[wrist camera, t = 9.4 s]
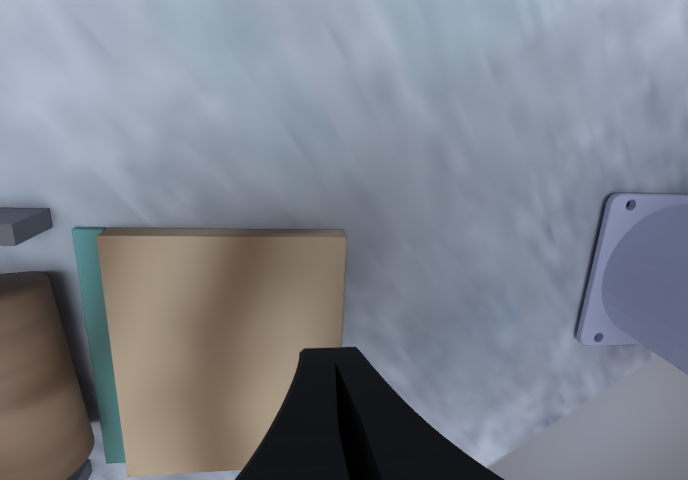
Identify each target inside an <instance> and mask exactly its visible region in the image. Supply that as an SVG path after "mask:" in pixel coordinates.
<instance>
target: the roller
mask: <svg viewBox="0 0 688 480" xmlns="http://www.w3.org/2000/svg"><path fill="white" fill-rule="evenodd" d="M93 446H94V435H93V432H92V428H91V425H90V421H89V418H88V414H87V411H86V407H85V404H84V400H83V396H82V393H81V389H80V386H79V382H78V379H77V375H76V372H75V368H74V365H73V361H72V357H71V354H70V350H69V347H68V343H67V340H66V336H65V333H64V329H63V326H62V322H61V318H60V315H59V311H58V308H57V304H56V301H55V297H54V294H53V290H52V287H51V283H50V279H49V277H48V275H46V274H44V273H40V272H19V273H7V274H0V480H66V479H67V478H69V477H70V476H71V475H72V474H73V473H75V472H76V471H77V470H78V469H79V468H80V467H81V466H82V465H83V463H84V462H85V461H86V460H87V458H88V457H89V455H90V454H91V451H92V449H93Z"/></svg>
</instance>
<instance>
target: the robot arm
mask: <svg viewBox="0 0 688 480" xmlns="http://www.w3.org/2000/svg"><path fill="white" fill-rule="evenodd" d="M629 200H630V204H629V206H628V207H627V208H626V204H627V202H628V201H629ZM596 334H598V335H597V336H596V337H595V335H596ZM594 337H595V338H594ZM577 340H578V341H579V342H580V343H582V344H583V345H585V346H599V345H634V344H643V345H644V346H646V347H647V348H649V349H650V350H652V351H653V352H655V353H656V354H658V355H659V356H661V357H662V358H664V359H665V360H667V361H668V362H670V363H671V364H673V365H674V366H676V367H677V368H679V369H680V370H682V371H683V372H684V373H686V374H688V194H645V193H615V194H613V195H611V196H610V198H609V199H608V201H607V203H606V207H605V212H604V216H603V221H602V225H601V229H600V234H599V238H598V243H597V247H596V251H595V256H594V260H593V265H592V269H591V274H590V278H589V282H588V287H587V291H586V296H585V300H584V304H583V309H582V313H581V318H580V322H579V327H578V331H577ZM235 480H504V479H502V478H501V477H499V476H498V475H496V474H495V473H493V472H492V471H490V470H489V469H487V468H486V467H484V466H483V465H481V464H480V463H478V462H477V461H475V460H474V459H473V458H471V457H470V456H468V455H467V454H466V453H464V452H463V451H462V450H461V449H459V448H458V447H457V446H455V445H454V444H453V443H451V442H450V441H449V440H448V439H446V438H445V437H444V436H442V435H441V434H440V433H439V432H438V431H436V430H435V429H434V428H433V427H432V426H430V425H429V424H428V423H427V422H426V421H425V420H424V419H423V418H422V417H421V416H419V415H418V414H417V413H416V412H415V411H414V410H413V409H412V408H411V407H410V406H409V405H408V404H407V403H406V402H405V401H404V400H403V399H402V398H401V397H400V396H399V395H398V394H397V393H396V392H395V391H394V390H393V389H392V388H391V387H390V385H389V384H388V383H387V382H386V381H385V380H384V379H383V378H382V377H381V375H380V374H379V373H378V372H377V371H376V370H375V369H374V367H373V366H372V365H371V364H370V363H369V361H368V360H367V359H366V358H365V357H364V355H363V354H362V353H361V352H360V351H359V350H358V349H357V348H356V347H335V348H304V349H303V350H302V351H301V352H300V353H299V361H298V365H297V369H296V372H295V375H294V378H293V381H292V383H291V385H290V388H289V390H288V392H287V394H286V397H285V399H284V401H283V403H282V405H281V407H280V409H279V411H278V413H277V415H276V417H275V419H274V420H273V422H272V424H271V426H270V428H269V430H268V431H267V433H266V435H265V436H264V438H263V440H262V441H261V443H260V444H259V446H258V448H257V449H256V451H255V452H254V454H253V455H252V457H251V458H250V459H249V461H248V462H247V464H246V465H245V467H244V468H243V470H242V471H241V472H240V474H239V475H238V476H237V477H236V479H235Z"/></svg>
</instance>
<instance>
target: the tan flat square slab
mask: <svg viewBox="0 0 688 480" xmlns="http://www.w3.org/2000/svg"><path fill="white" fill-rule="evenodd" d="M72 234H73V241H74V247H75V254H76V261H77V268H78V274H79V281H80V288H81V295H82V302H83V308H84V315H85V322H86V329H87V335H88V342H89V349H90V356H91V363H92V369H93V376H94V383H95V390H96V397H97V403H98V410H99V417H100V424H101V430H102V437H103V444H104V451H105V458H106V464H107V463H124V462H126V468H127V475H128V477H132V476H148V475H164V474H180V473H196V472H212V471H228V470H243V468H244V467H245V465H246V464H247V462H248V461H249V459H250V458H251V457H252V455H253V454H254V452H255V451H256V449H257V448H258V446H259V444H260V443H261V441H262V440H263V438H264V436H265V435H266V433H267V431H268V430H269V428H270V426H271V424H272V422H273V420H274V419H275V417H276V415H277V413H278V411H279V409H280V407H281V405H282V403H283V401H284V399H285V397H286V394H287V392H288V390H289V388H290V385H291V383H292V381H293V378H294V375H295V372H296V369H297V365H298V361H299V353H300V352H301V351H302V350H303V349H304V348H335V347H341V345H342V324H343V303H344V282H345V260H346V239H347V237H346V235H345V233H344V230H308V229H195V228H107V229H106V228H81V227H75V228H73V229H72Z"/></svg>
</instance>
